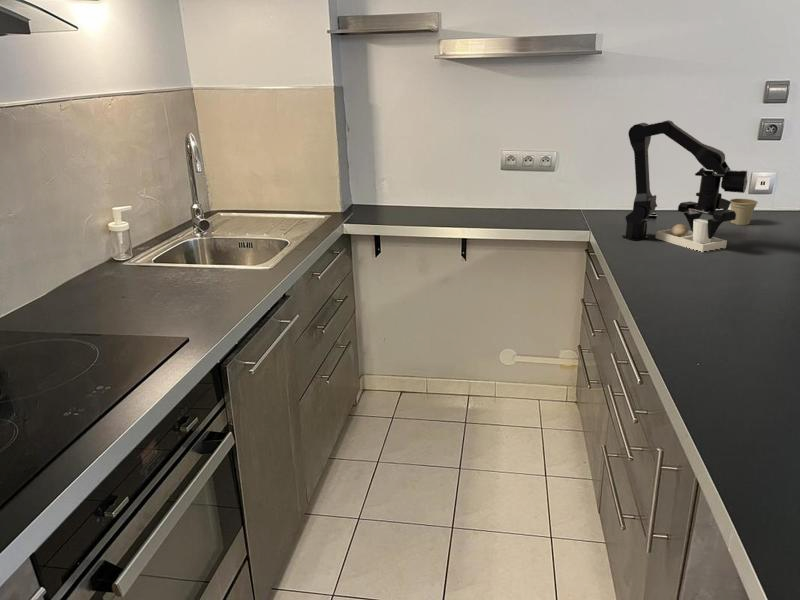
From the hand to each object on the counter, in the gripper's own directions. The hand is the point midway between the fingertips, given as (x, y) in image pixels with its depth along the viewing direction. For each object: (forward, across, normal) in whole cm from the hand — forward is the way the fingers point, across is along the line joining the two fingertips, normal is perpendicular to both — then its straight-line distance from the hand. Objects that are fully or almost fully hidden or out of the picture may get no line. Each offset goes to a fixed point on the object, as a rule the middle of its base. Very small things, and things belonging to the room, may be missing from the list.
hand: (702, 236), depth 206 cm
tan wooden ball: (+4, +10, 0) cm, 10 cm away
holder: (+3, +5, 0) cm, 6 cm away
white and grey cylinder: (+2, 0, 0) cm, 2 cm away
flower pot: (+4, +16, -37) cm, 40 cm away
